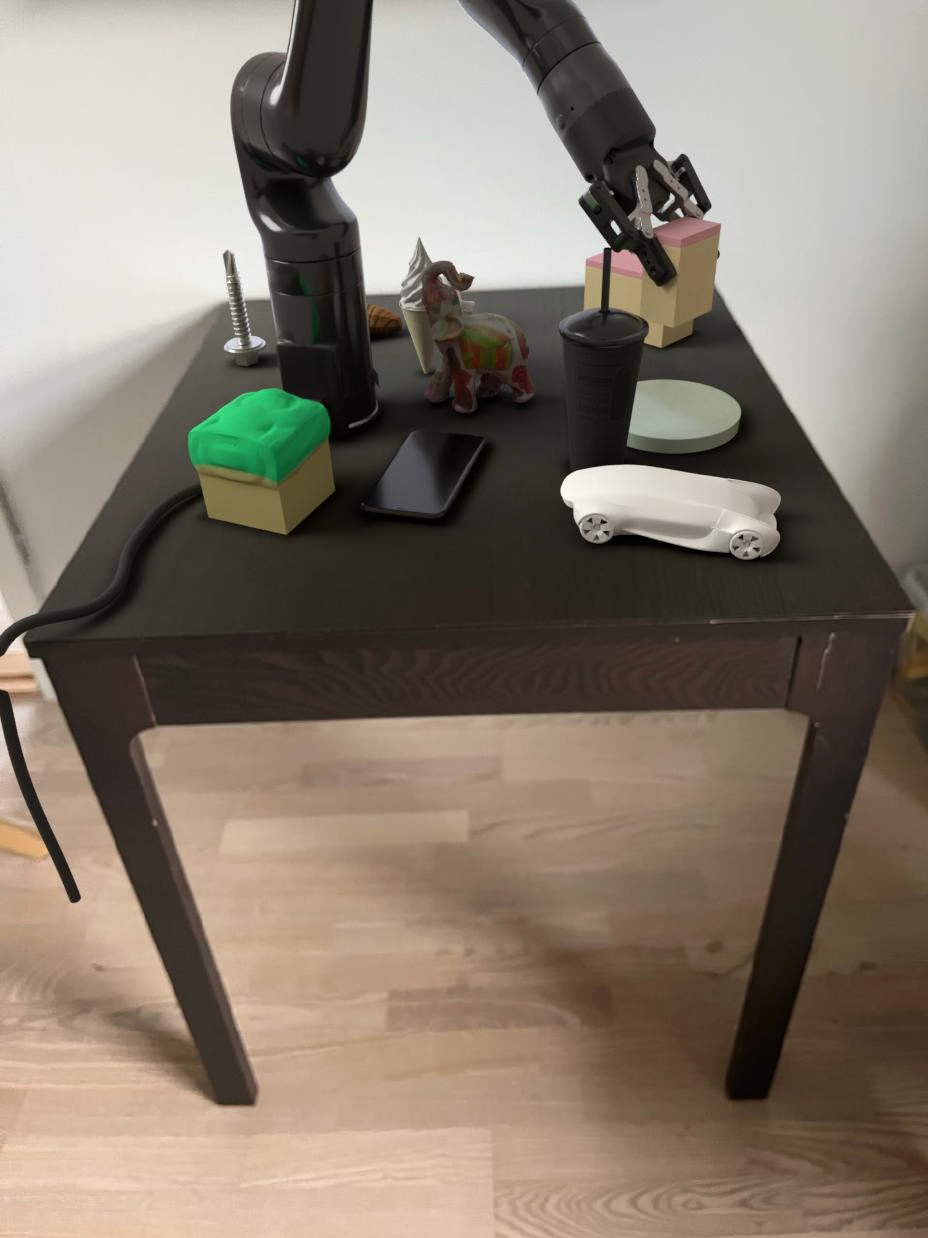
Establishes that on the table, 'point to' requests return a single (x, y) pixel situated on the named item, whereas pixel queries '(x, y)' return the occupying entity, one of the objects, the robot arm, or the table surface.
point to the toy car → (674, 508)
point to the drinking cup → (601, 378)
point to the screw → (239, 318)
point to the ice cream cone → (417, 306)
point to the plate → (681, 417)
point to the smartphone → (424, 476)
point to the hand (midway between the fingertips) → (690, 271)
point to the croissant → (382, 320)
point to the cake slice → (683, 272)
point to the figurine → (471, 345)
